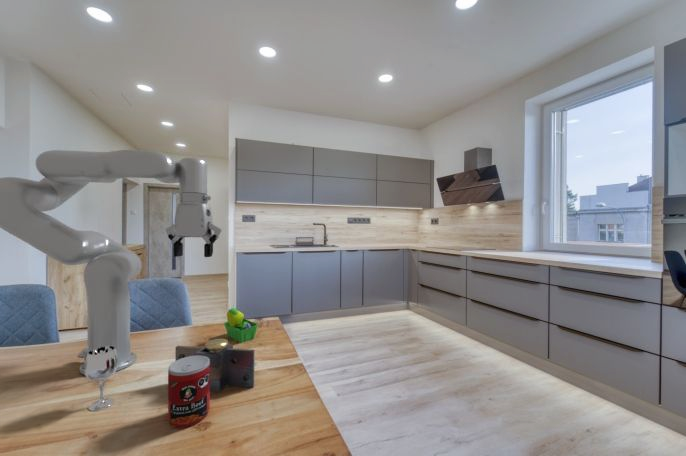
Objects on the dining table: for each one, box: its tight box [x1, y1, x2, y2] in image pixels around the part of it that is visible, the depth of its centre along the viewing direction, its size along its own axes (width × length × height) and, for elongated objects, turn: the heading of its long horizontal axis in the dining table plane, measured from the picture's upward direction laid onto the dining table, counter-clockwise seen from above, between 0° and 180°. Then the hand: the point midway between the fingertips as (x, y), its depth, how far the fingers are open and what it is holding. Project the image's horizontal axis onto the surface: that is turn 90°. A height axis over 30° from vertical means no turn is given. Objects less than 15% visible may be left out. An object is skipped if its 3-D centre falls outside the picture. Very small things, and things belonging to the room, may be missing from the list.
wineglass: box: [84, 346, 118, 412], centre depth 65 cm, size 6×6×12 cm
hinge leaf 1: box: [174, 345, 226, 379], centre depth 74 cm, size 13×6×9 cm, turn 83°
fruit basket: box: [223, 307, 259, 344], centre depth 105 cm, size 11×9×11 cm
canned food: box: [167, 355, 211, 429], centre depth 62 cm, size 8×8×11 cm
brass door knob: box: [204, 338, 229, 353], centre depth 74 cm, size 5×5×10 cm
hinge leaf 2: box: [195, 343, 255, 393], centre depth 74 cm, size 13×6×9 cm, turn 83°
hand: (193, 256), depth 90 cm, fingers open, 9 cm apart
